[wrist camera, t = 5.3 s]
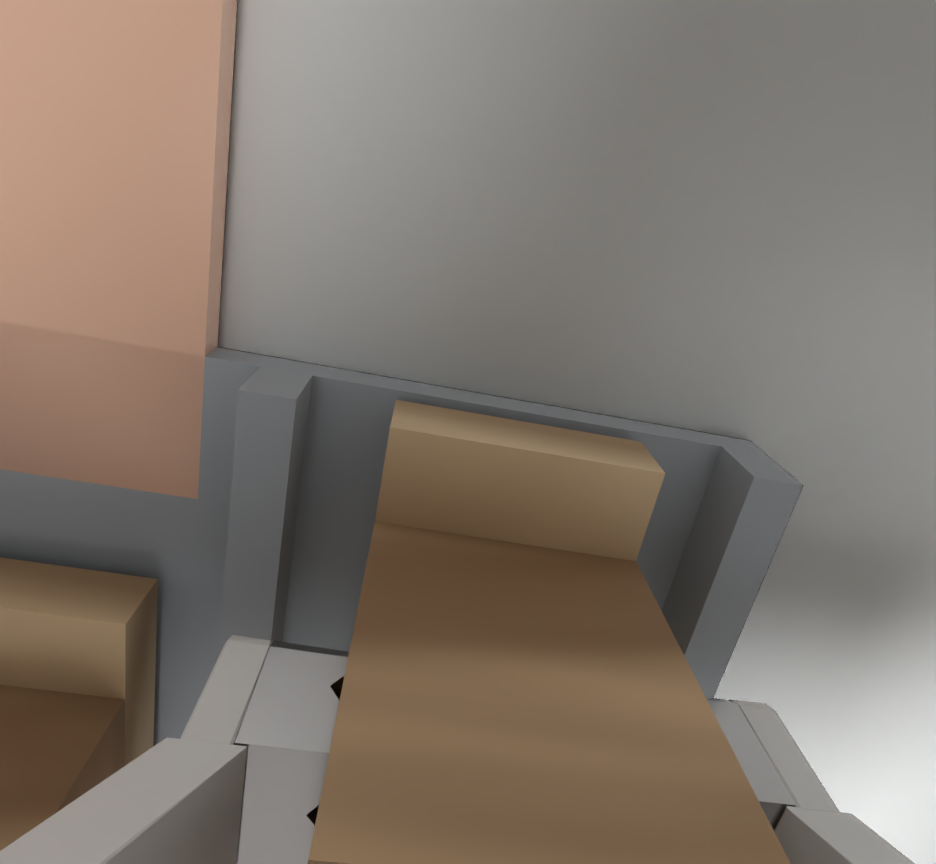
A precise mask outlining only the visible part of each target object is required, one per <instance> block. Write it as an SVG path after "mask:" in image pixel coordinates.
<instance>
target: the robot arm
mask: <svg viewBox="0 0 936 864" xmlns="http://www.w3.org/2000/svg"><path fill="white" fill-rule="evenodd" d="M348 655H349V652H347V651H341V650H334V649H328V648H321V647H315V646H308V645H302V644H295V643H288V642H282V641H275V640H274V641H270V640H264V639H257V638H251V637H244V636H238V635H232V636H231V637H230V638H229V639H228V640H227V641H226V643H225V645H224V647H223V649H222V651H221V653H220V655H219V657H218V659H217V662H216V664H215V666H214V668H213V670H212V672H211V674H210V676H209V678H208V681H207V683H206V685H205V687H204V689H203V691H202V693H201V695H200V698H199V700H198V702H197V704H196V706H195V708H194V710H193V712H192V715H191V717H190V719H189V721H188V723H187V725H186V727H185V729H184V732H183V734H182V736H181V738H180V739H177V738H165V739H164V740H162V741H161V742H159V743H158V744H156V745H155V746H153V747H152V748H150V749H149V750H147V751H146V752H145V753H143V754H142V755H140V756H139V757H137V758H136V759H134V760H133V761H131V762H130V763H128V764H127V765H125V766H124V767H123V768H121V769H120V770H118V771H117V772H115V773H114V774H112V775H111V776H109V777H108V778H106V779H105V780H103V781H102V782H101V783H99V784H98V785H96V786H95V787H93V788H92V789H90V790H89V791H87V792H86V793H84V794H83V795H81V796H80V797H79V798H77V799H76V800H74V801H73V802H71V803H70V804H68V805H67V806H65V807H64V808H62V809H61V810H60V811H58V812H57V813H55V814H54V815H52V816H51V817H49V818H48V819H46V820H45V821H43V822H42V823H40V824H39V825H38V826H36V827H35V828H33V829H32V830H30V831H29V832H27V833H26V834H24V835H23V836H21V837H20V838H18V839H17V840H16V841H14V842H13V843H11V844H10V845H8V846H7V847H5V848H4V849H2V850H1V851H0V864H308V858H309V853H310V848H311V843H312V838H313V833H314V828H315V823H316V818H317V813H318V807H319V802H320V797H321V792H322V787H323V782H324V777H325V772H326V767H327V762H328V757H329V752H330V746H331V741H332V736H333V731H334V726H335V721H336V716H337V711H338V706H339V701H340V696H341V691H342V685H343V680H344V675H345V670H346V665H347V660H348ZM706 699H707V701H708V703H709V705H710V707H711V709H712V711H713V713H714V715H715V717H716V719H717V721H718V723H719V725H720V726H721V728H722V730H723V732H724V734H725V736H726V738H727V740H728V742H729V744H730V746H731V748H732V750H733V752H734V754H735V756H736V758H737V760H738V762H739V764H740V766H741V768H742V769H743V771H744V773H745V775H746V777H747V779H748V781H749V783H750V785H751V787H752V789H753V791H754V793H755V795H756V797H757V799H758V801H759V803H760V805H761V807H762V809H763V810H764V812H765V814H766V816H767V818H768V820H769V822H770V824H771V826H772V828H773V830H774V832H775V834H776V836H777V838H778V840H779V842H780V844H781V846H782V848H783V850H784V852H785V853H786V855H787V857H788V859H789V861H790V863H791V864H915V863H913V862H912V861H911V860H910V859H908V858H907V857H906V856H905V855H903V854H902V853H901V852H899V851H898V850H897V849H896V848H894V847H893V846H892V845H891V844H889V843H888V842H887V841H886V840H884V839H883V838H882V837H880V836H879V835H878V834H877V833H875V832H874V831H873V830H872V829H870V828H869V827H868V826H867V825H865V824H864V823H863V822H861V821H860V820H859V819H858V818H856V817H855V816H854V815H853V814H849V813H842V812H839V810H838V808H837V807H836V805H835V804H834V802H833V801H832V799H831V798H830V796H829V794H828V793H827V791H826V790H825V788H824V787H823V785H822V783H821V782H820V780H819V779H818V777H817V776H816V774H815V772H814V771H813V769H812V768H811V766H810V765H809V763H808V761H807V760H806V758H805V757H804V755H803V754H802V752H801V750H800V749H799V747H798V746H797V744H796V743H795V741H794V739H793V738H792V736H791V735H790V733H789V732H788V730H787V728H786V727H785V725H784V724H783V722H782V721H781V719H780V717H779V716H778V714H777V713H776V711H775V710H774V709H772V708H771V707H770V706H768V705H767V704H766V703H756V702H747V701H738V700H728V701H727V700H723V699H714V698H706Z"/></svg>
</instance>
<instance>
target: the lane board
mask: <svg viewBox="0 0 936 864" xmlns="http://www.w3.org/2000/svg"><path fill="white" fill-rule="evenodd" d="M12 325H13V324H12ZM6 333H7V332H6ZM30 333H31V332H30ZM36 333H37V332H36ZM47 334H48V333H47ZM75 335H76V334H75ZM22 340H23V339H22ZM26 340H27V339H26ZM28 340H29V339H28ZM96 340H97V339H96ZM42 341H43V340H42ZM68 342H69V341H68ZM47 343H48V342H47ZM64 343H65V342H64ZM117 343H118V342H117ZM97 344H98V343H97ZM124 345H125V344H124ZM34 346H35V345H34ZM121 346H122V345H121ZM37 348H38V347H37ZM50 348H51V347H50ZM109 348H110V347H109ZM42 350H43V349H42ZM86 350H87V349H86ZM113 350H114V349H113ZM163 350H164V349H163ZM6 351H7V350H6ZM141 351H142V350H141ZM142 352H143V351H142ZM1 353H2V352H1ZM37 353H38V352H37ZM146 353H147V352H146ZM176 353H177V352H176ZM35 354H36V353H35ZM6 355H7V354H6ZM12 355H13V354H12ZM116 355H117V354H116ZM128 355H129V354H128ZM145 355H146V354H145ZM0 357H1V356H0ZM139 357H140V356H139ZM174 357H175V356H174ZM189 357H190V356H189ZM198 357H199V356H198ZM176 358H177V357H176ZM37 359H38V358H37ZM160 359H161V358H160ZM164 359H165V358H164ZM33 360H34V359H33ZM66 360H67V359H66ZM66 360H65V361H66ZM162 360H163V359H162ZM69 361H70V360H69ZM134 362H135V361H134ZM168 362H169V361H168ZM198 362H199V361H198ZM176 363H177V362H176ZM54 364H55V363H54ZM196 364H198V363H196ZM24 365H25V364H24ZM194 365H195V364H194ZM32 366H33V365H32ZM133 366H134V365H133ZM103 367H104V366H103ZM165 367H166V366H165ZM56 368H57V367H56ZM95 368H96V367H95ZM136 368H137V367H136ZM46 369H47V368H46ZM184 369H185V368H184ZM184 369H183V370H184ZM22 370H23V369H22ZM9 371H10V370H9ZM25 371H26V370H25ZM10 372H11V371H10ZM18 372H19V371H18ZM97 372H98V371H97ZM19 373H20V372H19ZM75 373H76V372H75ZM120 373H121V372H120ZM142 373H143V372H142ZM156 373H157V372H156ZM181 373H182V372H181ZM15 374H16V373H15ZM22 375H23V374H22ZM31 375H32V374H31ZM119 376H120V375H119ZM10 377H11V376H10ZM18 377H19V376H18ZM182 377H183V376H182ZM126 378H127V377H126ZM53 379H54V378H53ZM13 380H14V379H13ZM191 380H192V379H191ZM11 381H12V379H11ZM29 381H30V380H29ZM90 381H91V380H90ZM24 382H25V381H24ZM116 383H117V382H116ZM138 383H139V382H138ZM4 384H5V383H4ZM7 384H8V383H7ZM62 384H63V383H62ZM60 386H61V385H60ZM3 389H4V388H3ZM27 389H28V388H27ZM54 389H55V388H54ZM194 389H195V388H194ZM62 390H63V389H62ZM10 391H11V390H10ZM19 391H20V390H19ZM69 391H70V390H69ZM28 392H29V391H28ZM25 393H26V392H25ZM191 393H192V392H191ZM60 395H62V394H60ZM162 395H163V394H162ZM164 395H165V394H164ZM159 396H161V395H159ZM57 397H58V396H57ZM44 399H45V398H44ZM23 400H24V399H23ZM54 400H55V398H54ZM396 400H402V401H407V402H413V403H419V404H425V405H431V406H436V407H442V408H448V409H454V410H460V411H465V412H471V413H477V414H483V415H489V416H495V417H500V418H506V419H512V420H518V421H524V422H529V423H535V424H541V425H547V426H553V427H559V428H564V429H570V430H576V431H582V432H588V433H593V434H599V435H605V436H611V437H617V438H622V439H628V440H634V441H640V442H642V443H643V445H644V446H645V447H646V449H647V450H648V451H649V453H650V454H651V455H652V456H653V458H654V459H655V460H656V462H657V463H658V464H659V466H660V467H661V468H662V469H663V471H664V472H665V476H664V479H663V482H662V485H661V488H660V491H659V494H658V497H657V500H656V503H655V506H654V509H653V512H652V515H651V517H650V520H649V523H648V526H647V529H646V532H645V535H644V538H643V541H642V544H641V547H640V550H639V553H638V556H637V559H636V562H637V564H638V566H639V568H640V570H641V572H642V574H643V576H644V578H645V580H646V582H647V584H648V586H649V588H650V590H651V592H652V594H653V596H654V598H655V599H656V601H657V603H658V605H659V607H660V609H661V611H662V613H663V615H664V617H665V619H666V621H667V623H668V625H669V627H670V629H671V631H672V633H673V635H674V637H675V639H676V641H677V642H678V644H679V646H680V648H681V650H682V652H683V654H684V656H685V658H686V660H687V662H688V664H689V666H690V668H691V670H692V672H693V674H694V676H695V678H696V680H697V682H698V684H699V685H700V687H701V689H702V691H703V693H704V695H705V697H706V698H713V697H714V695H715V692H716V690H717V688H718V685H719V683H720V681H721V678H722V676H723V674H724V671H725V669H726V667H727V664H728V662H729V660H730V657H731V655H732V652H733V650H734V648H735V645H736V643H737V641H738V638H739V636H740V634H741V631H742V629H743V627H744V624H745V622H746V619H747V617H748V615H749V612H750V610H751V608H752V605H753V603H754V601H755V598H756V596H757V594H758V591H759V589H760V586H761V584H762V582H763V579H764V577H765V575H766V572H767V570H768V568H769V565H770V563H771V561H772V558H773V556H774V553H775V551H776V549H777V546H778V544H779V542H780V539H781V537H782V535H783V532H784V530H785V528H786V525H787V523H788V521H789V518H790V516H791V513H792V511H793V509H794V506H795V504H796V502H797V499H798V497H799V495H800V492H801V490H802V488H803V485H802V484H801V483H800V482H799V481H798V480H796V479H795V478H794V477H793V476H792V475H790V474H789V473H788V472H787V471H786V470H784V469H783V468H782V467H781V466H780V465H779V464H777V463H776V462H775V461H774V460H773V459H771V458H770V457H769V456H768V455H767V454H765V453H764V452H763V451H762V450H761V449H759V448H758V447H757V446H756V445H755V444H753V443H752V442H751V441H749V440H743V439H737V438H732V437H726V436H720V435H714V434H709V433H703V432H697V431H692V430H686V429H680V428H675V427H669V426H663V425H657V424H652V423H646V422H640V421H635V420H629V419H623V418H618V417H612V416H606V415H601V414H595V413H589V412H583V411H578V410H572V409H566V408H561V407H555V406H549V405H544V404H538V403H532V402H526V401H521V400H515V399H509V398H504V397H498V396H492V395H487V394H481V393H475V392H469V391H464V390H458V389H452V388H447V387H441V386H435V385H430V384H424V383H418V382H412V381H407V380H401V379H395V378H390V377H384V376H378V375H373V374H367V373H361V372H356V371H350V370H344V369H338V368H333V367H327V366H321V365H316V364H310V363H304V362H299V361H293V360H287V359H281V358H276V357H270V356H264V355H259V354H253V353H247V352H242V351H236V350H230V349H224V348H219V347H217V348H216V349H215V350H213V351H212V352H210V353H209V354H208V355H206V356H205V364H204V384H203V404H202V424H201V444H200V465H199V485H198V499H194V498H187V497H180V496H174V495H167V494H160V493H154V492H147V491H140V490H134V489H127V488H121V487H114V486H107V485H108V484H107V485H101V484H94V483H87V482H81V481H77V480H76V481H74V480H67V479H61V478H54V476H53V477H47V476H41V474H40V475H34V474H28V473H29V472H28V473H21V472H14V471H8V470H1V468H0V557H1V558H8V559H16V560H23V561H30V562H37V563H45V564H52V565H59V566H67V567H74V568H81V569H89V570H96V571H103V572H111V573H118V574H125V575H132V576H140V577H147V578H154V579H158V590H157V628H156V667H155V705H154V743H153V746H155V745H156V744H158V743H159V742H161V741H162V740H164V739H165V738H177V739H180V738H181V736H182V734H183V732H184V729H185V727H186V725H187V723H188V721H189V719H190V717H191V715H192V712H193V710H194V708H195V706H196V704H197V702H198V700H199V698H200V695H201V693H202V691H203V689H204V687H205V685H206V683H207V681H208V678H209V676H210V674H211V672H212V670H213V668H214V666H215V664H216V662H217V659H218V657H219V655H220V653H221V651H222V649H223V647H224V645H225V643H226V641H227V640H228V639H229V638H230V637H231V636H232V635H238V636H244V637H251V638H257V639H264V640H270V641H274V640H275V641H282V642H288V643H295V644H302V645H308V646H315V647H321V648H328V649H334V650H341V651H347V652H349V650H350V645H351V640H352V635H353V630H354V625H355V619H356V614H357V609H358V604H359V599H360V594H361V589H362V584H363V579H364V574H365V569H366V564H367V558H368V553H369V548H370V543H371V538H372V533H373V528H374V523H375V517H376V511H377V505H378V499H379V492H380V486H381V480H382V474H383V468H384V462H385V456H386V449H387V443H388V437H389V431H390V425H391V421H392V416H393V411H394V406H395V401H396ZM21 401H22V400H21ZM43 401H44V400H43ZM69 401H70V400H69ZM187 401H188V400H187ZM18 402H19V401H18ZM46 402H47V401H46ZM50 402H51V401H50ZM156 402H157V401H156ZM26 403H27V402H26ZM6 404H7V403H6ZM13 404H14V403H13ZM13 404H12V405H13ZM74 404H75V403H74ZM172 404H173V403H172ZM3 405H4V404H3ZM33 405H34V404H33ZM9 406H10V405H9ZM6 407H7V406H6ZM10 407H11V406H10ZM16 407H17V406H16ZM89 407H90V406H89ZM14 408H15V407H14ZM32 409H33V408H32ZM35 409H36V408H35ZM45 409H46V408H45ZM102 409H103V408H102ZM106 409H107V408H106ZM12 410H13V409H12ZM88 411H89V410H88ZM6 412H7V411H6ZM8 412H9V411H8ZM19 412H20V411H19ZM36 412H37V411H36ZM176 412H177V411H176ZM48 413H49V412H48ZM137 413H138V412H137ZM7 414H8V413H7ZM162 414H163V413H162ZM23 415H24V414H23ZM1 416H2V415H1ZM27 416H28V415H27ZM67 416H68V415H67ZM86 417H87V416H86ZM15 418H16V417H15ZM57 418H58V417H57ZM117 418H118V417H117ZM63 419H64V418H63ZM55 420H56V419H55ZM89 420H90V419H89ZM91 420H92V419H91ZM21 421H22V420H21ZM23 421H24V420H23ZM67 421H69V420H67ZM188 421H189V420H188ZM19 422H20V421H19ZM181 422H182V421H181ZM55 423H56V422H55ZM58 423H59V422H58ZM174 423H175V422H174ZM1 424H2V423H1ZM26 424H27V423H26ZM9 425H10V424H9ZM21 425H22V424H21ZM160 425H161V424H160ZM6 426H7V425H6ZM81 426H82V425H81ZM112 426H113V425H112ZM35 427H36V426H35ZM37 427H38V426H37ZM39 427H40V426H39ZM3 428H4V427H3ZM45 428H46V427H45ZM49 428H50V427H49ZM54 428H55V427H54ZM76 428H77V427H76ZM10 429H11V428H10ZM82 429H83V428H82ZM51 430H53V429H51ZM51 430H50V431H51ZM99 430H100V429H99ZM18 431H19V430H18ZM18 431H17V432H18ZM48 432H49V431H48ZM81 432H82V431H81ZM99 432H100V431H99ZM106 432H107V431H106ZM106 432H105V433H106ZM129 432H130V431H129ZM145 432H146V431H145ZM3 433H4V432H3ZM7 433H8V432H7ZM11 433H12V432H11ZM24 433H25V432H24ZM26 433H27V432H26ZM55 433H56V432H55ZM146 433H147V432H146ZM108 434H109V433H108ZM181 434H182V433H181ZM4 437H5V436H4ZM10 437H11V436H10ZM17 437H18V436H17ZM144 438H145V437H144ZM4 439H5V438H4ZM71 439H72V438H71ZM134 439H135V438H134ZM8 440H10V439H8ZM8 440H7V441H8ZM31 440H32V439H31ZM72 440H73V439H72ZM26 441H27V440H26ZM69 441H70V440H69ZM17 442H18V441H17ZM58 442H59V441H58ZM66 442H67V441H66ZM166 442H167V441H166ZM2 443H3V441H2ZM42 443H43V442H42ZM68 443H69V442H68ZM97 443H98V442H97ZM186 443H187V442H186ZM3 444H4V443H3ZM3 444H2V445H3ZM20 444H21V443H20ZM30 444H31V443H30ZM33 444H34V443H33ZM164 444H165V443H164ZM8 445H9V444H8ZM10 445H11V444H10ZM64 445H65V444H64ZM66 445H67V444H66ZM93 445H95V444H93ZM20 446H21V445H20ZM76 446H77V445H76ZM127 446H128V445H127ZM15 447H16V446H15ZM166 447H167V446H166ZM24 448H25V446H24ZM28 448H29V447H28ZM155 448H156V447H155ZM29 449H30V448H29ZM93 449H94V448H93ZM194 449H195V448H194ZM2 450H3V449H2ZM18 450H21V449H18ZM24 450H25V449H24ZM68 450H69V449H68ZM111 450H112V449H111ZM58 452H59V451H58ZM13 453H14V452H13ZM19 453H20V451H19ZM55 453H56V451H55ZM74 453H75V452H74ZM83 453H84V452H83ZM10 454H11V453H10ZM20 454H22V453H20ZM84 454H85V453H84ZM95 454H96V453H95ZM182 454H183V453H182ZM11 455H12V454H11ZM38 455H39V454H38ZM53 455H54V454H53ZM143 455H144V454H143ZM7 456H8V455H7ZM36 456H37V455H36ZM43 456H44V455H43ZM49 456H50V455H49ZM49 456H48V457H49ZM59 456H60V455H59ZM8 457H9V456H8ZM12 457H13V456H12ZM16 457H17V456H16ZM16 457H15V458H16ZM32 458H33V457H32ZM82 458H83V457H82ZM113 458H114V457H113ZM11 459H12V458H10V460H11ZM62 459H63V458H62ZM8 460H9V459H8ZM10 460H9V461H10ZM109 460H110V459H109ZM180 460H181V459H180ZM13 461H14V460H13ZM30 461H31V460H30ZM30 461H29V462H30ZM39 461H40V460H39ZM77 461H78V460H77ZM79 461H80V460H79ZM35 462H36V461H35ZM46 462H47V461H46ZM36 463H37V462H36ZM52 463H53V462H52ZM93 463H94V462H93ZM103 463H105V461H104V462H103ZM112 463H113V462H112ZM34 464H35V463H34ZM38 464H39V463H38ZM66 464H67V463H66ZM72 464H73V463H72ZM0 465H1V464H0ZM42 465H43V464H42ZM60 465H61V463H60ZM9 466H10V465H9ZM13 466H14V465H13ZM30 466H31V465H30ZM56 466H57V465H56ZM56 466H55V467H56ZM79 466H80V465H79ZM4 467H5V466H4ZM95 467H97V466H95ZM145 467H146V466H145ZM27 468H28V467H27ZM35 468H36V467H35ZM52 468H53V467H52ZM163 468H164V467H163ZM41 469H42V468H41ZM71 469H72V468H71ZM78 470H79V469H78ZM15 471H16V470H15ZM20 471H21V470H20ZM33 471H34V470H33ZM56 471H57V470H56ZM90 471H91V470H90ZM34 472H35V471H34ZM34 472H33V473H34ZM75 472H76V471H75ZM166 472H167V471H166ZM31 473H32V472H31ZM96 473H97V472H96ZM43 474H44V473H43ZM55 475H56V474H55ZM62 475H63V474H62ZM88 475H89V474H88ZM56 477H57V475H56ZM64 477H65V476H64ZM83 477H84V476H83ZM194 477H195V476H194ZM92 478H93V477H92ZM102 478H103V477H102ZM117 478H118V477H117ZM100 480H101V479H100ZM148 480H149V479H148ZM116 481H118V480H116ZM142 484H143V483H142ZM111 485H113V484H111ZM143 485H144V484H143ZM127 486H128V485H127ZM132 488H133V487H132ZM139 489H140V488H139ZM159 489H160V488H159ZM190 490H191V489H190ZM163 493H164V492H163Z"/></svg>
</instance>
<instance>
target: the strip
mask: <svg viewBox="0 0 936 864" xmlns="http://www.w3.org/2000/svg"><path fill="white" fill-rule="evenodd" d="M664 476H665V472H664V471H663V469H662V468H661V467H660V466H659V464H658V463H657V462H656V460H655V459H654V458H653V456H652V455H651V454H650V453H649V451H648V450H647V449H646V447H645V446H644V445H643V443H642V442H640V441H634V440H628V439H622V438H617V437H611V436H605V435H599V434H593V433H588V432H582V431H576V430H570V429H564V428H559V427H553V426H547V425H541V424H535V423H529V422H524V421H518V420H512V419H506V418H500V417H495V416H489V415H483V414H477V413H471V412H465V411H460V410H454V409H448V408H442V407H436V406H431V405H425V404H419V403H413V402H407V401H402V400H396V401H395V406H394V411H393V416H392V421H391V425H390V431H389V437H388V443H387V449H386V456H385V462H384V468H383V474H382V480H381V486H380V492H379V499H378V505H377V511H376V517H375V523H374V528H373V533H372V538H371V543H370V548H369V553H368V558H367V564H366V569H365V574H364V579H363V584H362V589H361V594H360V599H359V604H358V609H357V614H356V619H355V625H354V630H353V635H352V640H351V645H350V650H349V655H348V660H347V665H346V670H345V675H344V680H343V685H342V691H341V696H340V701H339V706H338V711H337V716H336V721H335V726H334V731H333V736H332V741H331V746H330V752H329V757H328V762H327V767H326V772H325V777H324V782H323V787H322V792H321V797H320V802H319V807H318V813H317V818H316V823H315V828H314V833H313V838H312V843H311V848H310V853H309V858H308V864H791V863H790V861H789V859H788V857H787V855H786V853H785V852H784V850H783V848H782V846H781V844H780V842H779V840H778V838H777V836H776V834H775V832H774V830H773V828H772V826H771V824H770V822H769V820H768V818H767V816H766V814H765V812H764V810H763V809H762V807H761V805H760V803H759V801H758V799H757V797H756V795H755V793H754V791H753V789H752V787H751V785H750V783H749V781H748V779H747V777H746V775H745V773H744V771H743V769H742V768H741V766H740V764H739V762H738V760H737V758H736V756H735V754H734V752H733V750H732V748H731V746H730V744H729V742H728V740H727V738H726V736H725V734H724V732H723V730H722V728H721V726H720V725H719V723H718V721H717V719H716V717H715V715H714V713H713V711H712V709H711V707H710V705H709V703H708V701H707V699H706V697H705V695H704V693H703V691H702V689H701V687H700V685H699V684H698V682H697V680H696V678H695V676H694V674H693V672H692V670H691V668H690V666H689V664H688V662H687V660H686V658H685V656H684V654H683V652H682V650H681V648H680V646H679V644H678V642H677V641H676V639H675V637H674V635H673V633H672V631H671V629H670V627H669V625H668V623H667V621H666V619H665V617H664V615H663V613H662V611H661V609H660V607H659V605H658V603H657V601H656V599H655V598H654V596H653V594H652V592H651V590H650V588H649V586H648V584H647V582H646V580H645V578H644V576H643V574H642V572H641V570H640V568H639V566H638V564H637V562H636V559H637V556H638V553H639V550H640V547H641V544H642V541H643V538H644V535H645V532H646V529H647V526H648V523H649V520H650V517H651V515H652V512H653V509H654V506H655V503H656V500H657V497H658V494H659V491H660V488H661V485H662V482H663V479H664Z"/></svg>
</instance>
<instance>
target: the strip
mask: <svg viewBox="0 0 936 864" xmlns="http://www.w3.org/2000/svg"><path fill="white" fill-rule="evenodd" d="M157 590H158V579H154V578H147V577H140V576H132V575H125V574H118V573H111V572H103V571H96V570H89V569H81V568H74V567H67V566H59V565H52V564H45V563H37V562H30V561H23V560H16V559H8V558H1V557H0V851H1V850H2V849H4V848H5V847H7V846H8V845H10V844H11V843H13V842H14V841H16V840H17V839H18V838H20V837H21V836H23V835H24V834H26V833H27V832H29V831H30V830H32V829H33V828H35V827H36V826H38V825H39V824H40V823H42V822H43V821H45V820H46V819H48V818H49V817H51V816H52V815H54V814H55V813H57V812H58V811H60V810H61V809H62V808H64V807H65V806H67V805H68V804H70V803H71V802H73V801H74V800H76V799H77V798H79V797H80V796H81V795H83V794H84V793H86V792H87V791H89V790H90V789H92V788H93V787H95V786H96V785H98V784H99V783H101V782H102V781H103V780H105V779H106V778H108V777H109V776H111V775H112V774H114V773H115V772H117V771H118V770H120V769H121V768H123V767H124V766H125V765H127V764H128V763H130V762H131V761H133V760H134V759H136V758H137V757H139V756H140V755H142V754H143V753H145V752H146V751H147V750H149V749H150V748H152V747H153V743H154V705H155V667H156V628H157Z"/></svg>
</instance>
